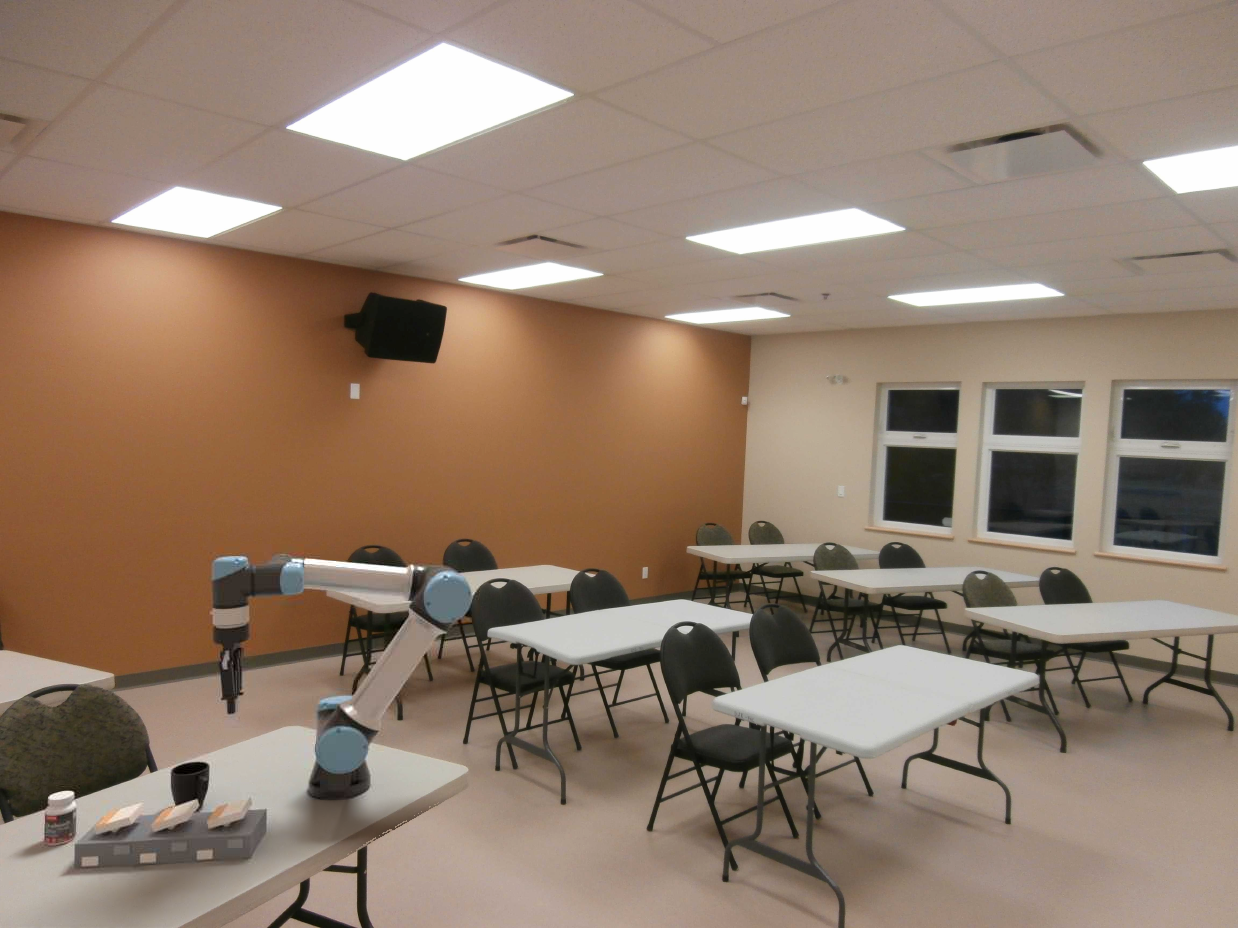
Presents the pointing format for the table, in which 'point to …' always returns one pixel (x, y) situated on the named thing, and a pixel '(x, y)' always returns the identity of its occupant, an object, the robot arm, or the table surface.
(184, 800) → the mug
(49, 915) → the table surface
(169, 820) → the switch
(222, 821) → the switch
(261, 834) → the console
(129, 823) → the switch
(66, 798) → the pill bottle
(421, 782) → the table surface
